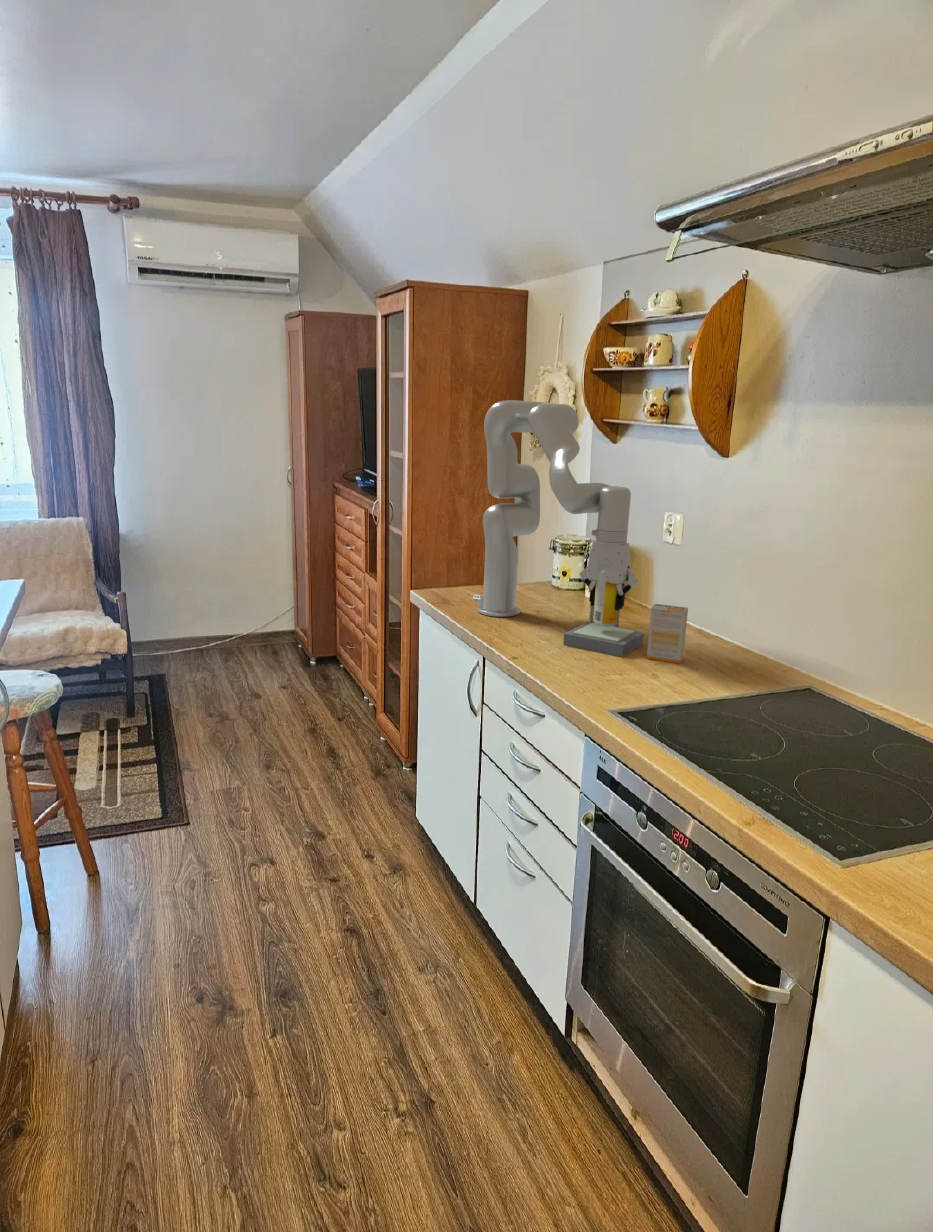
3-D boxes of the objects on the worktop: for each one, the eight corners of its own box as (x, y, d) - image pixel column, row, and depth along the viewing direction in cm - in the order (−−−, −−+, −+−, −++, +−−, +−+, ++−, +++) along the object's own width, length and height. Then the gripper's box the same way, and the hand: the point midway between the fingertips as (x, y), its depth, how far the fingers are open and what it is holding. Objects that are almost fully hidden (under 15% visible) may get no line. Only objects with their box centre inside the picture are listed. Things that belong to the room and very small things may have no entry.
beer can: (621, 624, 208) (626, 566, 204) (608, 628, 204) (612, 569, 200) (601, 619, 212) (605, 563, 208) (588, 623, 208) (592, 565, 204)
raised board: (563, 644, 208) (564, 631, 207) (586, 633, 219) (586, 620, 218) (622, 656, 200) (623, 643, 199) (642, 644, 211) (644, 631, 210)
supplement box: (683, 659, 200) (689, 607, 196) (680, 664, 195) (685, 611, 192) (650, 653, 203) (655, 602, 200) (645, 658, 199) (650, 606, 195)
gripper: (573, 534, 204) (568, 604, 208) (639, 542, 195) (633, 615, 199) (586, 531, 210) (581, 599, 214) (650, 539, 201) (643, 609, 206)
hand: (606, 606), depth 207 cm, fingers closed on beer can, 6 cm apart
